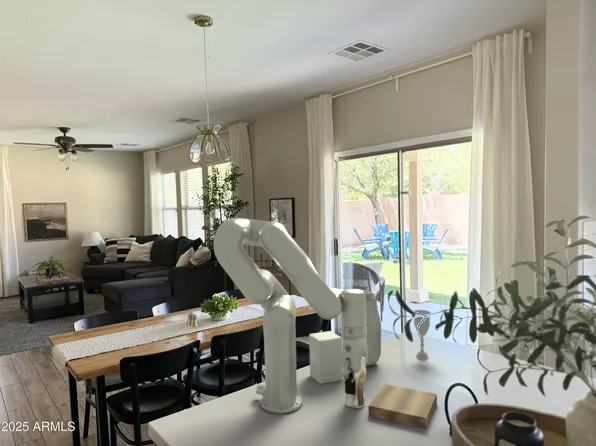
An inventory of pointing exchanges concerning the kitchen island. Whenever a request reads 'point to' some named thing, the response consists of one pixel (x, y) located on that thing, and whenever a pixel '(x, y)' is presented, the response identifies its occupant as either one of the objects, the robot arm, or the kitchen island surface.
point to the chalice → (422, 333)
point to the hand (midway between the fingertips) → (354, 388)
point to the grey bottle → (372, 329)
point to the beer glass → (357, 388)
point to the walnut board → (403, 405)
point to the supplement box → (325, 357)
